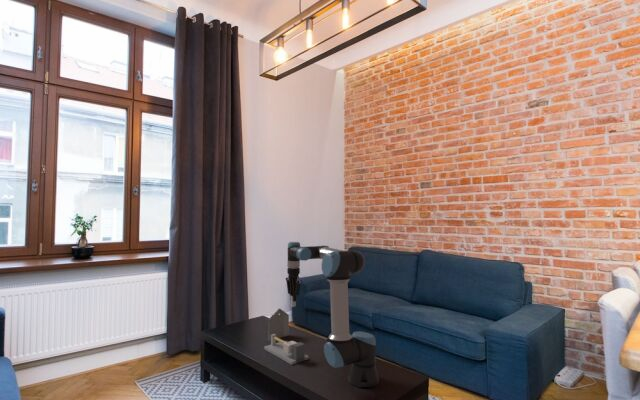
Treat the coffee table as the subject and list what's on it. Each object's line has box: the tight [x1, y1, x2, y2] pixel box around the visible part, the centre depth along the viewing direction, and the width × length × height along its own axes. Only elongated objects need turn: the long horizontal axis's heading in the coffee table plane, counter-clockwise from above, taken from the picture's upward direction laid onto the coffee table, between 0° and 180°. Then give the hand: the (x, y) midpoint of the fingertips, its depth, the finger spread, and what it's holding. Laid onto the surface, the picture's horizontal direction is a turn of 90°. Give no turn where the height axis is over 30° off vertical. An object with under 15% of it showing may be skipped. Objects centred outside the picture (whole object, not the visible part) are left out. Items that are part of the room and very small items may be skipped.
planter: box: [267, 308, 290, 342], centre depth 237 cm, size 16×8×19 cm, turn 134°
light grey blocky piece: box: [263, 334, 310, 366], centre depth 209 cm, size 28×12×9 cm, turn 41°
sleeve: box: [283, 340, 297, 354], centre depth 204 cm, size 5×7×4 cm
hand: (293, 306), depth 216 cm, fingers closed
